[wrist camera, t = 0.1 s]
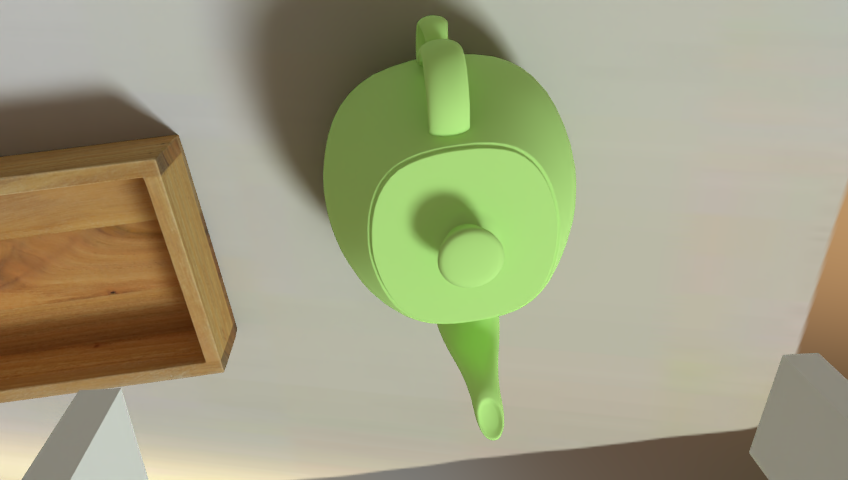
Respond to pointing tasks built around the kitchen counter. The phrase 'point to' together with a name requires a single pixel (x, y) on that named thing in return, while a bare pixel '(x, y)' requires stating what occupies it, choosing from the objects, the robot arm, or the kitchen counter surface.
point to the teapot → (452, 196)
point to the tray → (106, 271)
